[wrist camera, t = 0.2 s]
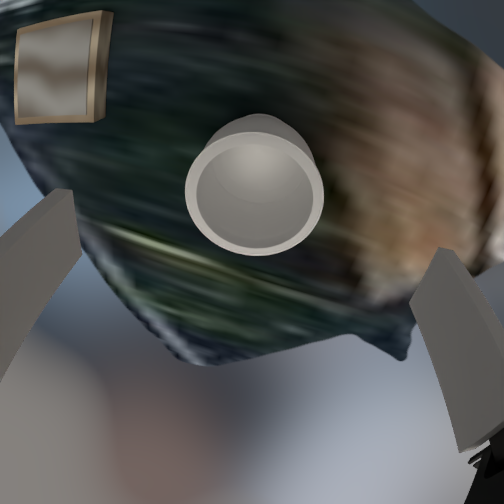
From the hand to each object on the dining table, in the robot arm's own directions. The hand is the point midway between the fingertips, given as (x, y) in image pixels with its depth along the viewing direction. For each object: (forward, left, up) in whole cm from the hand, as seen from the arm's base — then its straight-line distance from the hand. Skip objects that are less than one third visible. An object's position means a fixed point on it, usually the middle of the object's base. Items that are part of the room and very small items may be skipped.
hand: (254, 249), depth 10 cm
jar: (+4, 0, -28) cm, 28 cm away
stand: (-5, -27, -28) cm, 39 cm away
